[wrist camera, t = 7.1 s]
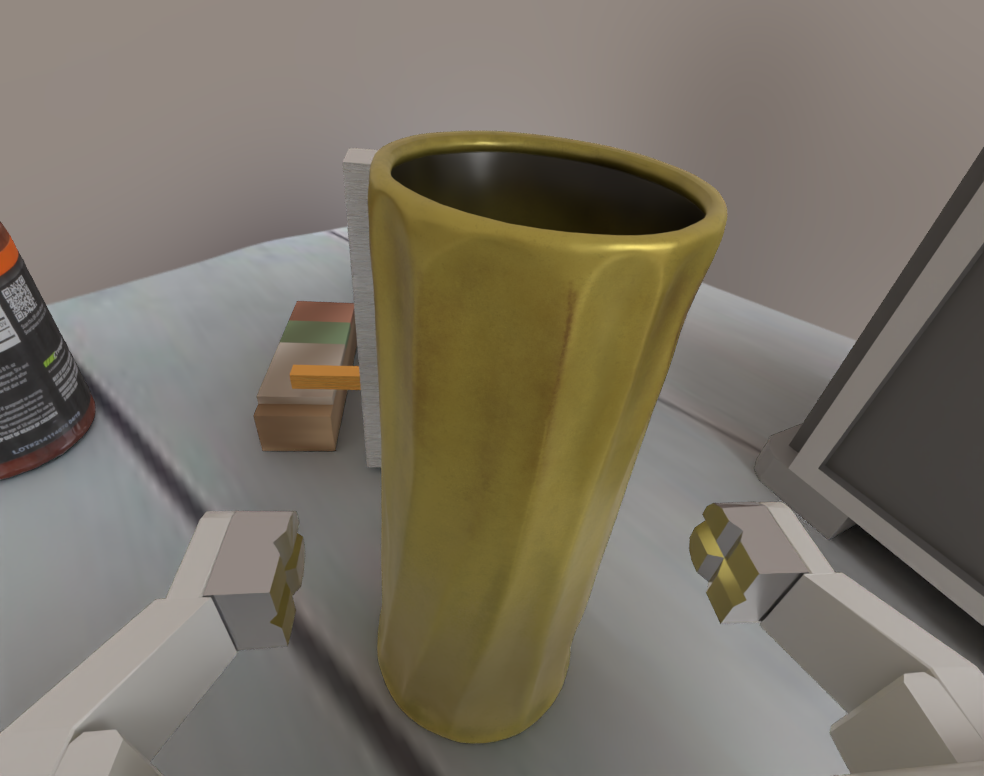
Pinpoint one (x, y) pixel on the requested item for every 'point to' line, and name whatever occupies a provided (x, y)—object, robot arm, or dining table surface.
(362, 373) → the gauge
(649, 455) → the dining table surface
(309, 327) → the rail
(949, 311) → the grey box
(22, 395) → the supplement bottle
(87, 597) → the dining table surface
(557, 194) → the vase
